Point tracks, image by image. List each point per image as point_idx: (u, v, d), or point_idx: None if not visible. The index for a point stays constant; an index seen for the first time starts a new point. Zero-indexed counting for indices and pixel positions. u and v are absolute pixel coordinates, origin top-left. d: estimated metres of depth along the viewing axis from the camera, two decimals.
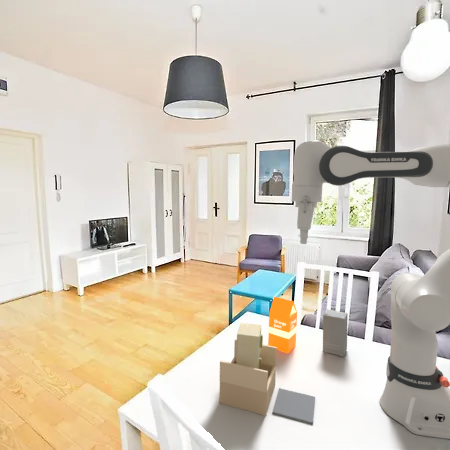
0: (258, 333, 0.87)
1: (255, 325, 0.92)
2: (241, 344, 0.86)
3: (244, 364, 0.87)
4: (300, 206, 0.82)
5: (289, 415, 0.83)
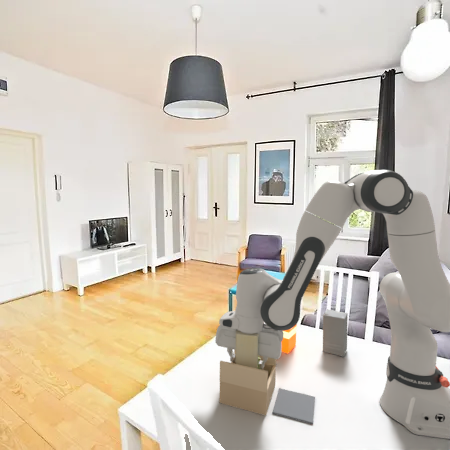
0: None
1: None
2: (240, 344, 0.87)
3: (244, 364, 0.87)
4: (278, 338, 0.85)
5: (289, 415, 0.83)
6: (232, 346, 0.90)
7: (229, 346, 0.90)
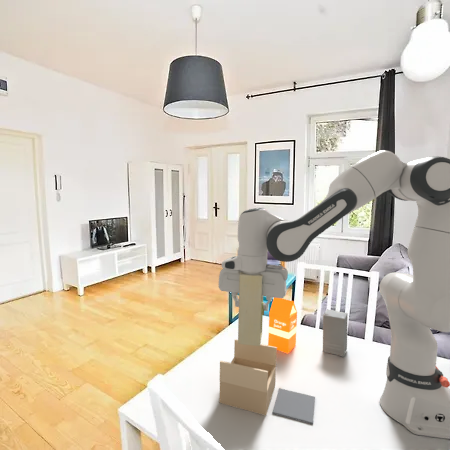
0: None
1: None
2: (243, 284, 0.85)
3: (247, 305, 0.85)
4: (282, 276, 0.83)
5: (289, 415, 0.83)
6: (236, 289, 0.88)
7: (233, 290, 0.88)
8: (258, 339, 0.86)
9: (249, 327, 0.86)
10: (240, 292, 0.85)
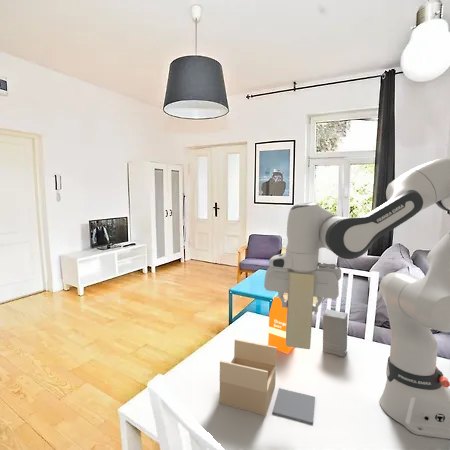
0: (312, 273, 0.80)
1: None
2: (294, 283, 0.80)
3: (297, 306, 0.80)
4: (336, 275, 0.79)
5: (289, 415, 0.83)
6: (283, 289, 0.83)
7: (280, 289, 0.83)
8: (308, 342, 0.81)
9: (299, 329, 0.81)
10: (290, 292, 0.80)
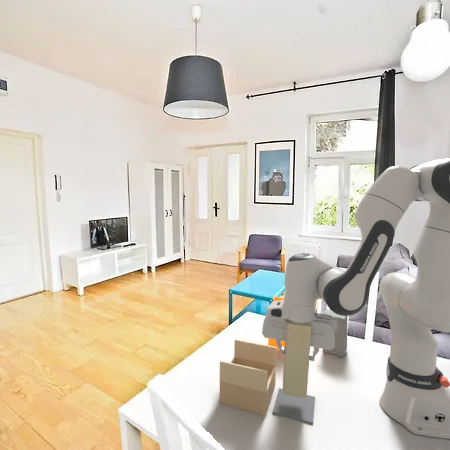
0: None
1: None
2: (291, 334, 0.81)
3: (294, 356, 0.82)
4: (333, 327, 0.80)
5: (289, 415, 0.83)
6: (281, 337, 0.85)
7: (277, 337, 0.85)
8: (305, 391, 0.82)
9: (295, 378, 0.82)
10: (287, 342, 0.82)
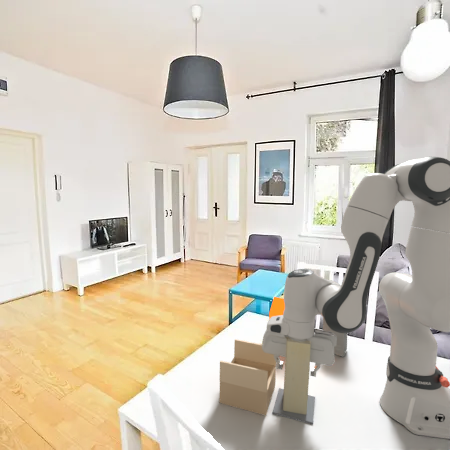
0: None
1: None
2: (291, 351, 0.82)
3: (294, 373, 0.82)
4: (332, 343, 0.81)
5: (289, 415, 0.83)
6: (281, 353, 0.85)
7: (277, 353, 0.85)
8: (305, 407, 0.83)
9: (295, 395, 0.83)
10: (287, 359, 0.82)
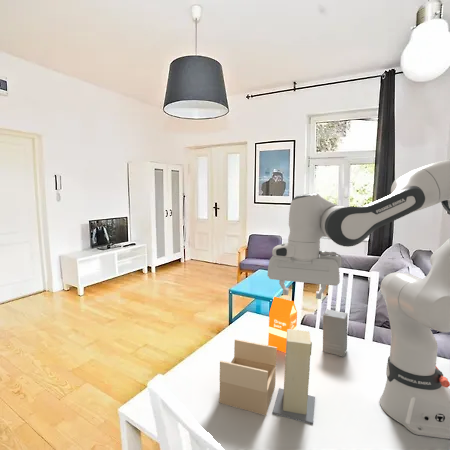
0: (309, 340, 0.82)
1: (303, 331, 0.87)
2: (291, 351, 0.82)
3: (294, 373, 0.82)
4: (337, 263, 0.82)
5: (289, 415, 0.83)
6: (286, 277, 0.86)
7: (283, 278, 0.86)
8: (305, 407, 0.83)
9: (295, 395, 0.83)
10: (287, 359, 0.82)
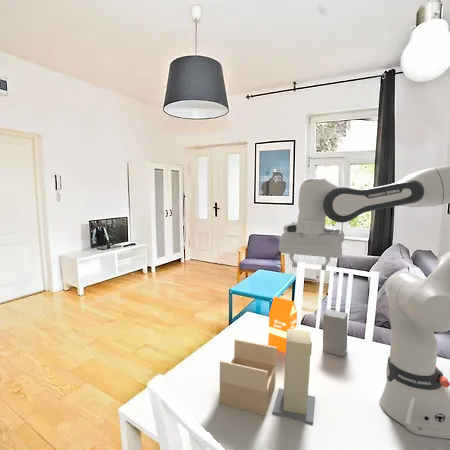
0: (309, 340, 0.82)
1: (303, 331, 0.87)
2: (291, 351, 0.82)
3: (294, 373, 0.82)
4: (340, 238, 0.94)
5: (289, 415, 0.83)
6: (295, 251, 0.99)
7: (292, 251, 0.99)
8: (305, 407, 0.83)
9: (295, 395, 0.83)
10: (287, 359, 0.82)
